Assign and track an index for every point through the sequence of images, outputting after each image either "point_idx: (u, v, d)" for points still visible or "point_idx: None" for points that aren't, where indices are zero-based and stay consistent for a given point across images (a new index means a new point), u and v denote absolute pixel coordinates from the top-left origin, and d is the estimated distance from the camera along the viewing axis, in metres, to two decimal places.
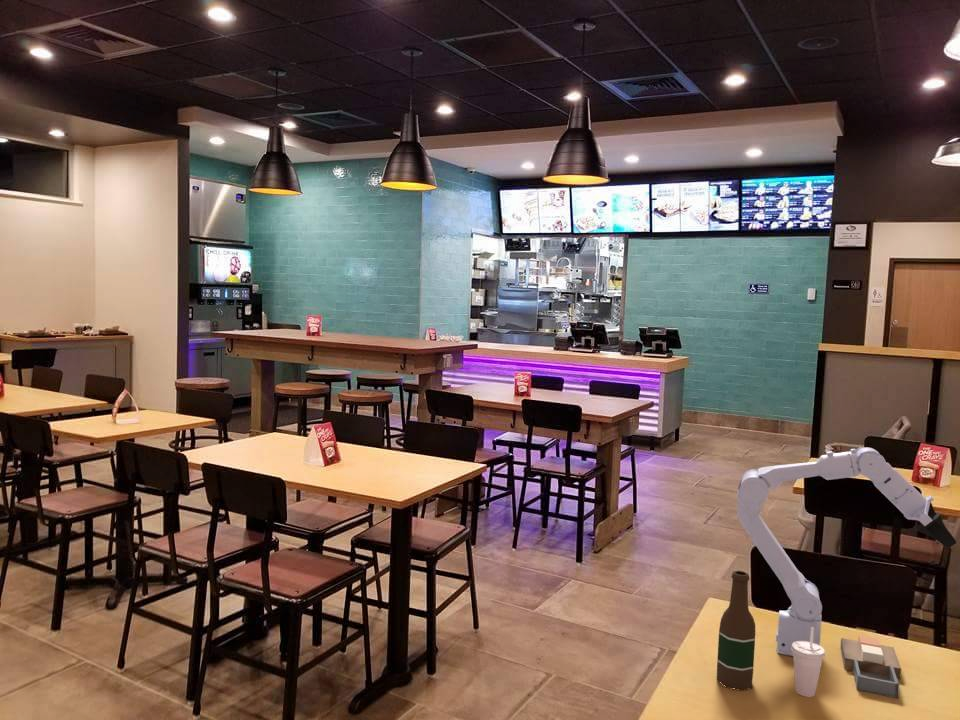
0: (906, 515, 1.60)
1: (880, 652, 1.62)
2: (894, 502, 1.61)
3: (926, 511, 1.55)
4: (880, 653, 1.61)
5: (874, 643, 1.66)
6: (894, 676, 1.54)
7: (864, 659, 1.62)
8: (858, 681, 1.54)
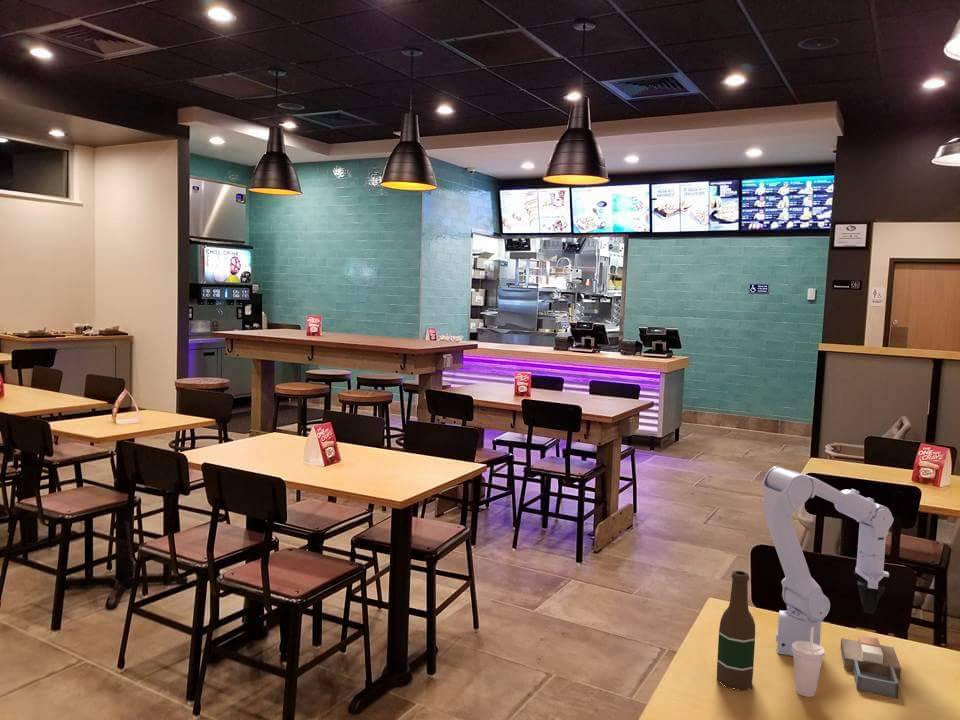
0: (858, 569, 1.73)
1: (880, 652, 1.62)
2: (860, 555, 1.73)
3: (878, 580, 1.68)
4: (880, 653, 1.61)
5: (874, 643, 1.66)
6: (894, 676, 1.54)
7: (864, 659, 1.62)
8: (858, 681, 1.54)
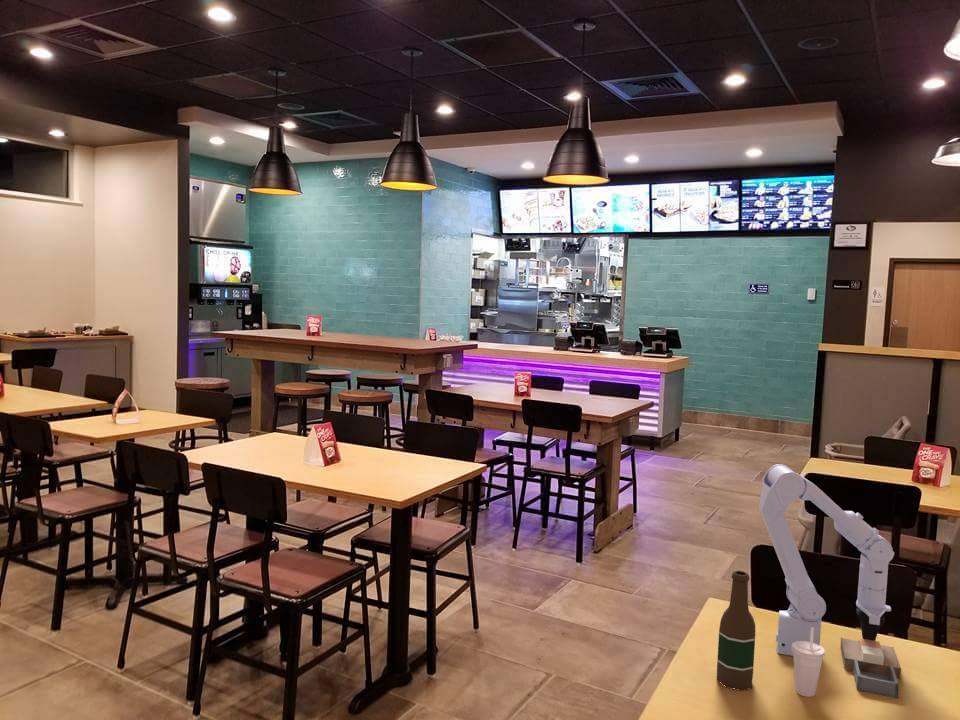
0: (859, 603, 1.68)
1: (881, 653, 1.61)
2: (861, 588, 1.67)
3: (880, 615, 1.63)
4: (881, 654, 1.61)
5: (875, 646, 1.65)
6: (894, 676, 1.54)
7: (865, 660, 1.61)
8: (858, 681, 1.54)
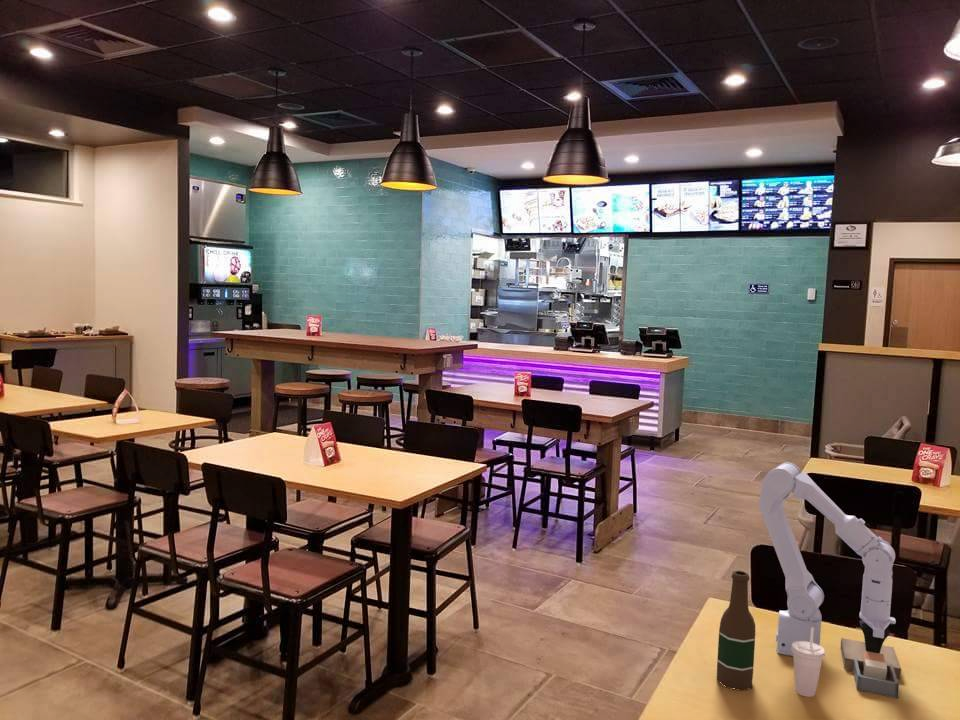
0: (863, 615, 1.61)
1: (883, 679, 1.56)
2: (865, 599, 1.61)
3: (884, 628, 1.56)
4: None
5: None
6: (894, 676, 1.54)
7: None
8: (858, 681, 1.54)
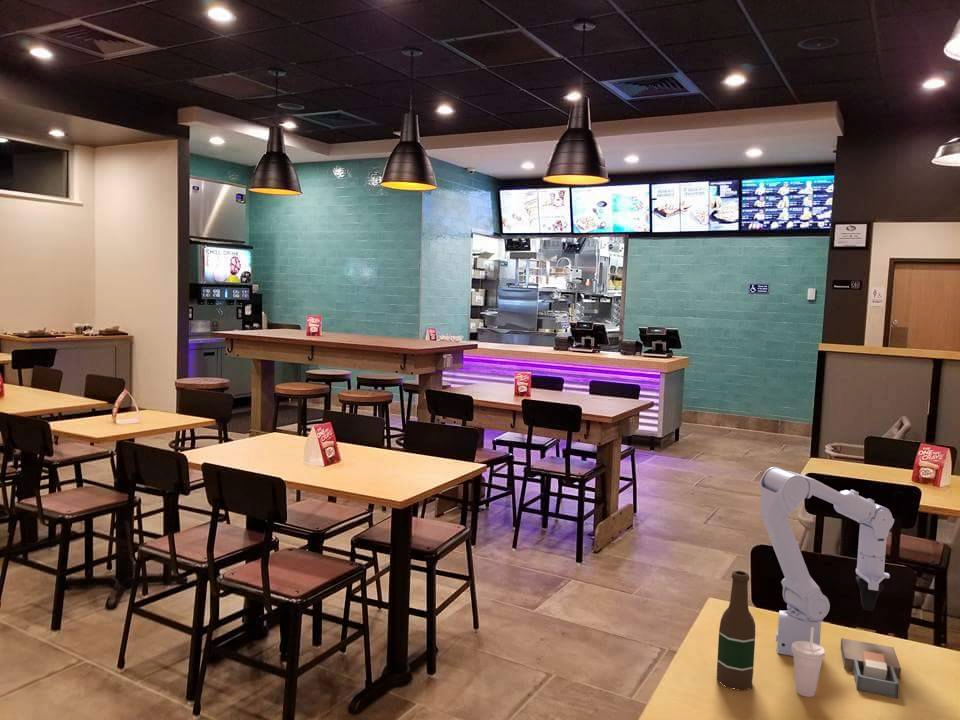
0: (859, 571, 1.72)
1: (883, 679, 1.56)
2: (861, 556, 1.72)
3: (879, 581, 1.67)
4: None
5: None
6: (894, 676, 1.54)
7: None
8: (858, 681, 1.54)
